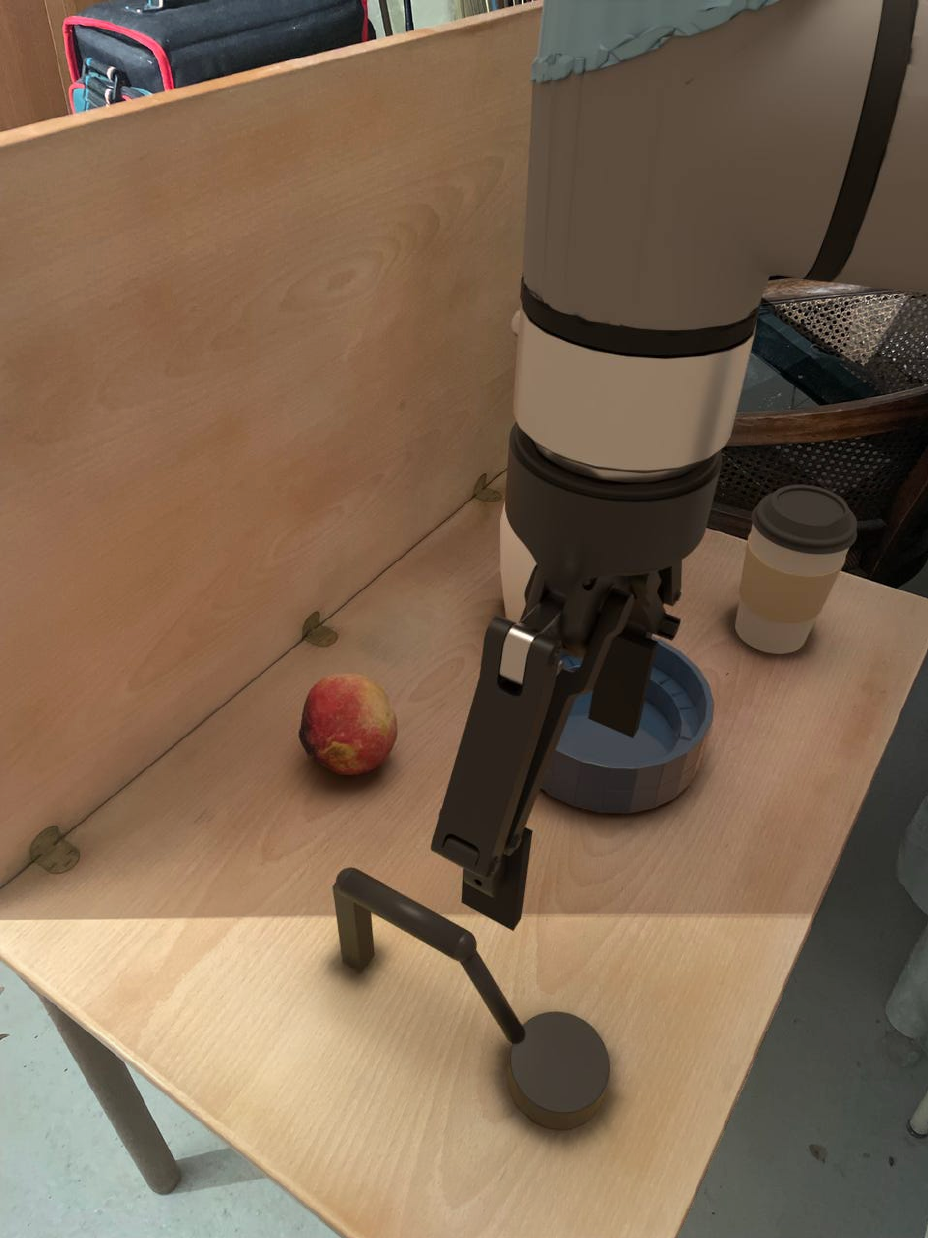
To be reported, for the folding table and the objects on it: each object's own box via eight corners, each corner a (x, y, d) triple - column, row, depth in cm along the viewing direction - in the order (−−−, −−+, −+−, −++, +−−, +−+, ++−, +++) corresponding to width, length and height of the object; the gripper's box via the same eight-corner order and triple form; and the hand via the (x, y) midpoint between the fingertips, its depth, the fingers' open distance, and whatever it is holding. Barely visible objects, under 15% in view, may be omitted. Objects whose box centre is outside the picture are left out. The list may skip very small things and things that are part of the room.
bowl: (725, 718, 79) (740, 669, 75) (656, 851, 68) (670, 801, 64) (560, 652, 85) (565, 603, 81) (473, 764, 74) (475, 714, 71)
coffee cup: (704, 627, 88) (737, 497, 79) (756, 590, 93) (793, 463, 83) (785, 675, 83) (831, 543, 74) (836, 632, 88) (884, 503, 78)
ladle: (620, 1060, 56) (643, 981, 50) (579, 1151, 52) (599, 1076, 46) (373, 918, 64) (366, 833, 57) (320, 988, 60) (306, 904, 53)
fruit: (409, 781, 73) (407, 713, 68) (316, 807, 71) (306, 738, 66) (382, 716, 78) (378, 648, 73) (295, 738, 76) (284, 669, 71)
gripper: (651, 296, 41) (594, 642, 55) (308, 575, 25) (349, 969, 38) (816, 335, 38) (712, 689, 52) (552, 679, 22) (502, 1064, 36)
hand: (558, 808), depth 45 cm, fingers open, 13 cm apart
